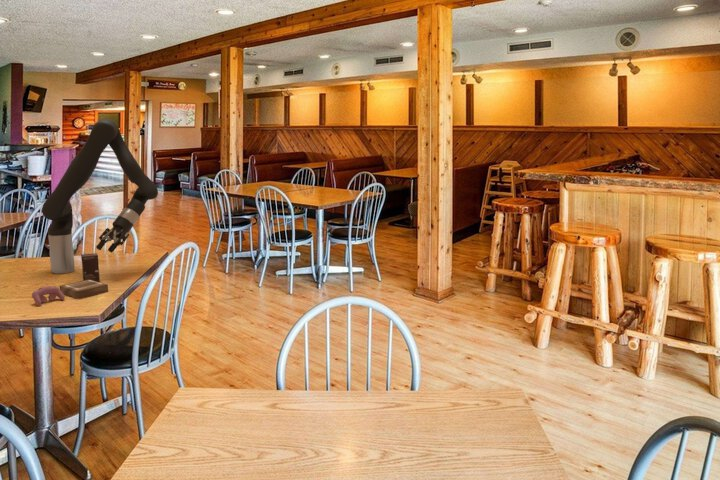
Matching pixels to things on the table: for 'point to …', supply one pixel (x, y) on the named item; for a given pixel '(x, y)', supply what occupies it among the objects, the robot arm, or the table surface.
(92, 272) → the box
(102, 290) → the base board
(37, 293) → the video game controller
